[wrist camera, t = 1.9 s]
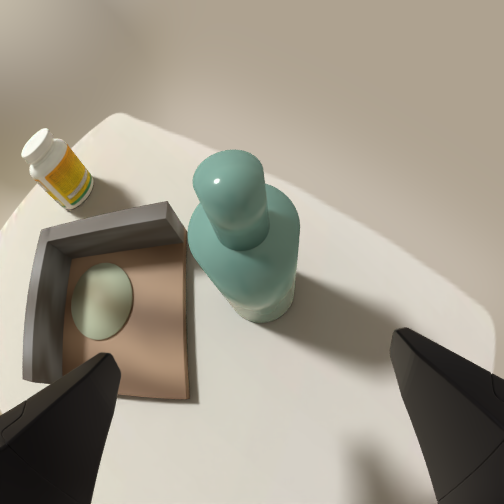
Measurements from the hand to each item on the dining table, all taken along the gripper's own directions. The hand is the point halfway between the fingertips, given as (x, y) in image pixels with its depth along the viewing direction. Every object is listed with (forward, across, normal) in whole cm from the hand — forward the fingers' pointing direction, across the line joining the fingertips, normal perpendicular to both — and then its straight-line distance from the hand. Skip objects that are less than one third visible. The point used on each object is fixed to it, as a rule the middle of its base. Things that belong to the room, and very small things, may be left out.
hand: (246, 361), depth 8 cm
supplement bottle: (+23, +21, -5) cm, 31 cm away
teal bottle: (+13, 0, +5) cm, 14 cm away
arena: (+12, +13, +5) cm, 19 cm away
